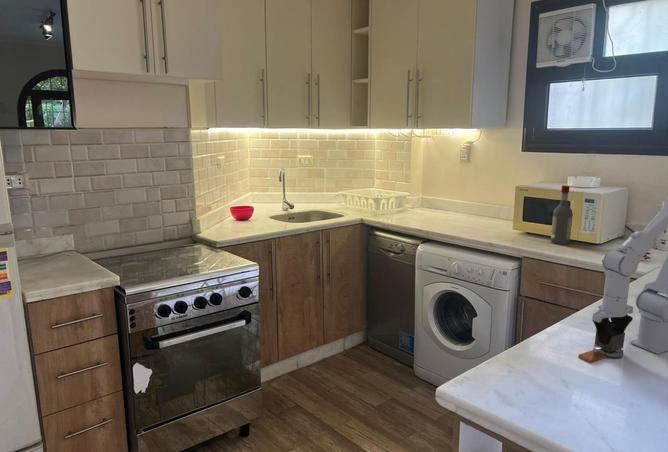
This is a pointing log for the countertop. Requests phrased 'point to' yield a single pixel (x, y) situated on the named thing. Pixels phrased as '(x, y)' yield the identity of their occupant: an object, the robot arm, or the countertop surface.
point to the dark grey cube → (612, 340)
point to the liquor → (562, 220)
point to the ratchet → (600, 354)
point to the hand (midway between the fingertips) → (609, 341)
